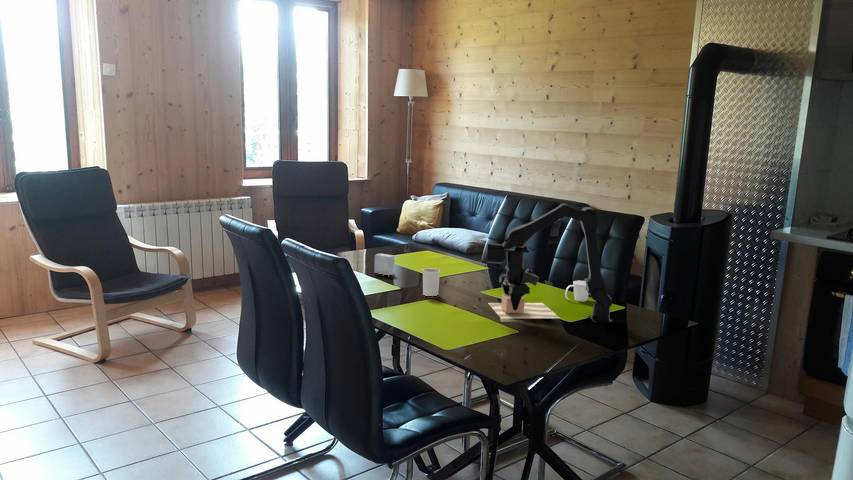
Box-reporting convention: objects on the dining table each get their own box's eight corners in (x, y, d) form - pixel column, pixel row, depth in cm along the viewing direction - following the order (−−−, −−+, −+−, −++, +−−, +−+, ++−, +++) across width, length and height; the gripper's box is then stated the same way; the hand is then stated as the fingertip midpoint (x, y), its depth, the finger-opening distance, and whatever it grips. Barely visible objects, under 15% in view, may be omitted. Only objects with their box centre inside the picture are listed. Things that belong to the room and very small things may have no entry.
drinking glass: (442, 295, 263) (443, 270, 261) (430, 298, 258) (431, 272, 256) (429, 292, 267) (430, 267, 266) (418, 294, 263) (419, 269, 261)
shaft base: (560, 321, 234) (561, 308, 233) (501, 321, 231) (501, 308, 230) (542, 306, 253) (543, 294, 252) (487, 306, 250) (488, 294, 249)
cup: (593, 305, 257) (594, 284, 256) (568, 305, 255) (570, 285, 253) (584, 300, 264) (586, 280, 262) (560, 301, 261) (562, 280, 260)
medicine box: (394, 275, 296) (395, 255, 294) (388, 276, 292) (389, 257, 290) (380, 272, 300) (380, 253, 298) (373, 274, 296) (374, 254, 295)
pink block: (523, 312, 236) (524, 297, 235) (505, 312, 235) (506, 298, 235) (518, 307, 243) (519, 293, 242) (501, 307, 242) (502, 293, 241)
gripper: (545, 270, 228) (542, 314, 231) (529, 259, 246) (527, 300, 249) (513, 269, 227) (511, 314, 229) (499, 258, 245) (497, 300, 247)
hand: (512, 307), depth 239 cm, fingers closed on pink block, 6 cm apart
